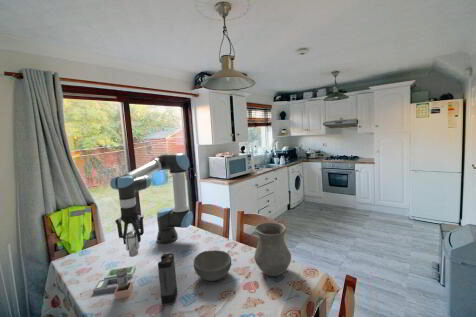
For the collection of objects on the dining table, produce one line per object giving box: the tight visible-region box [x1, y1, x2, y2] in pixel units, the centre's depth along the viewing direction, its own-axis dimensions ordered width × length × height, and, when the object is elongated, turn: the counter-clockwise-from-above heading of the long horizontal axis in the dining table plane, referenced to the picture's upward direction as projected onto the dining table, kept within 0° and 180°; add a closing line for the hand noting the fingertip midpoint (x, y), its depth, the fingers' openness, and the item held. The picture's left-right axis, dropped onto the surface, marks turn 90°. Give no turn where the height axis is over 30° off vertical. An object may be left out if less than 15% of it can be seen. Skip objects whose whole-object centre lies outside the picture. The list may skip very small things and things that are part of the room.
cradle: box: [92, 278, 118, 295], centre depth 116 cm, size 12×8×3 cm
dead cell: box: [116, 267, 129, 291], centre depth 110 cm, size 4×4×13 cm
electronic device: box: [157, 252, 178, 306], centre depth 105 cm, size 9×6×20 cm, turn 5°
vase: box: [254, 221, 292, 277], centre depth 120 cm, size 20×19×25 cm
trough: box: [103, 265, 137, 280], centre depth 125 cm, size 14×8×3 cm, turn 101°
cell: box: [126, 230, 139, 258], centre depth 118 cm, size 4×4×13 cm
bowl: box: [193, 249, 232, 282], centre depth 121 cm, size 20×20×10 cm
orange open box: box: [114, 281, 134, 300], centre depth 110 cm, size 6×6×4 cm
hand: (133, 248), depth 118 cm, fingers closed on cell, 4 cm apart
